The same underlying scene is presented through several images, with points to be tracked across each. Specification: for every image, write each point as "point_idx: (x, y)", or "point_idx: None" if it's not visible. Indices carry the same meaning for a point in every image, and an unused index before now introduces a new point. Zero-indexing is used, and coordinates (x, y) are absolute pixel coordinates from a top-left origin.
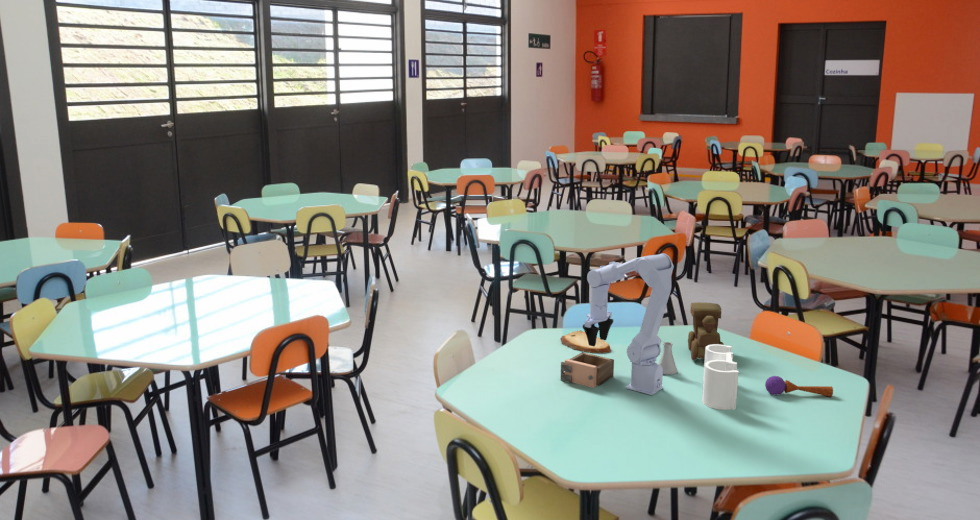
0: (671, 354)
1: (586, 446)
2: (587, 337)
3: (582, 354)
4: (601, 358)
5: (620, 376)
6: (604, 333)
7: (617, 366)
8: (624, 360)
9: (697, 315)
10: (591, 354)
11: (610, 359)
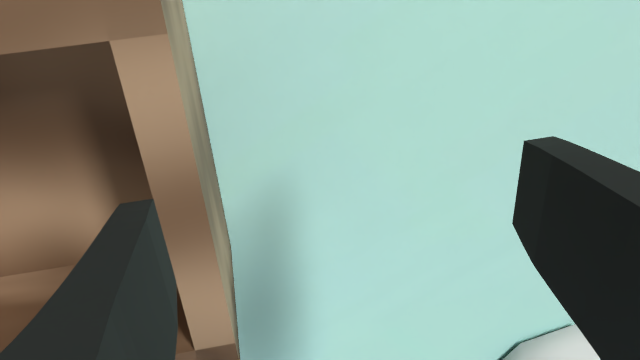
0: None
1: None
2: (51, 308)
3: (67, 45)
4: (175, 276)
5: (276, 272)
6: (579, 281)
7: (459, 135)
8: (626, 91)
9: None
10: (179, 134)
11: (214, 352)
